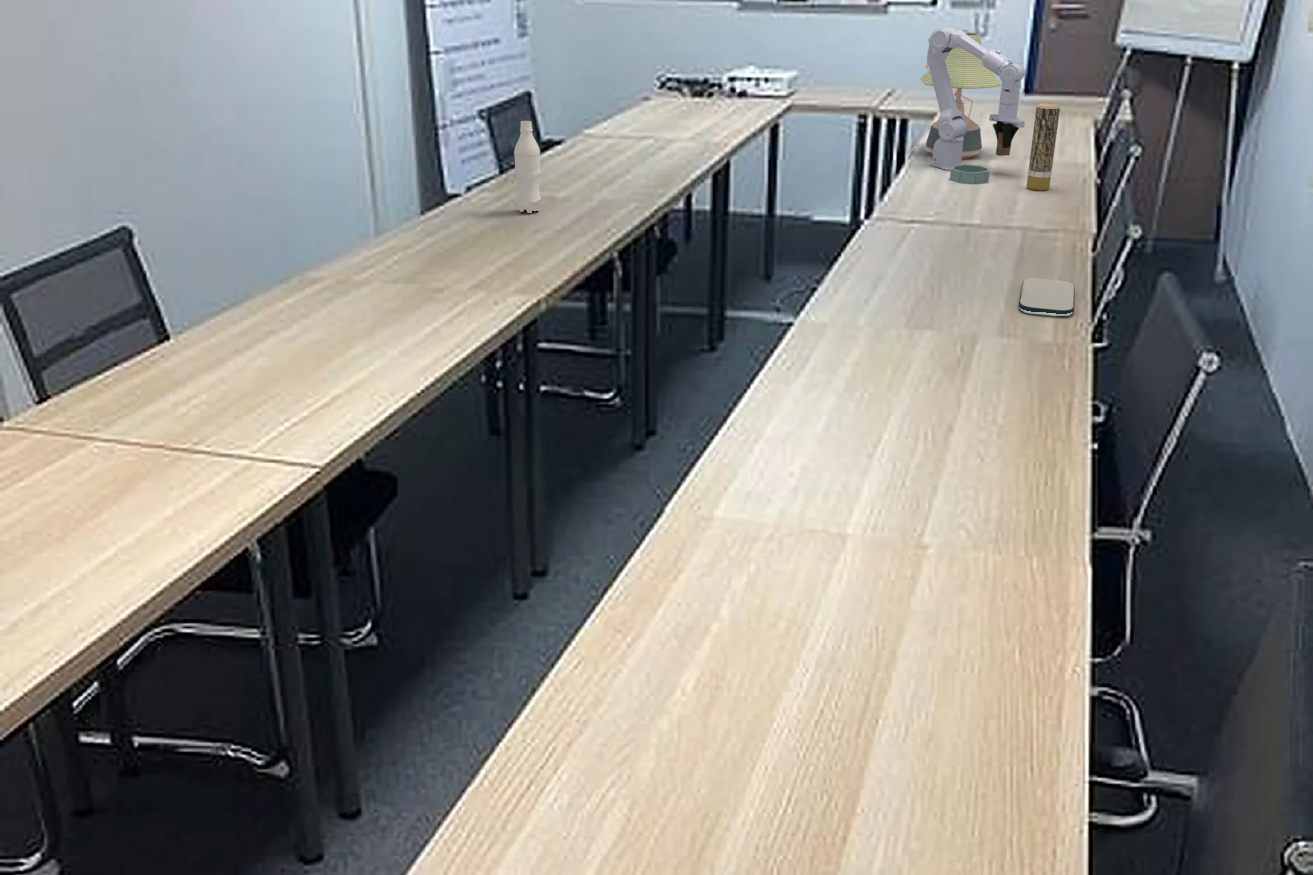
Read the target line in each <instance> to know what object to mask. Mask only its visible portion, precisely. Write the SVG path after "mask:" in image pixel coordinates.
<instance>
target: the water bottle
mask: <svg viewBox="0 0 1313 875" xmlns="http://www.w3.org/2000/svg"><path fill="white" fill-rule="evenodd" d="M519 131H520V136H519V138H518V140H517V142H516V144H515V146H514V152H513V154H514V172H515V175H516V181H517V195H516V200H517V201H518V202H536V201H538V200H540V199H542V197H541V191H540V190H541V189H540V176H541V156H540V154H541V149H540V147H539V144H538V143H537V140H536V139H535V137H534V134H533V125H532V121H531V120H521V121H520V129H519ZM516 200H515V201H516Z"/></svg>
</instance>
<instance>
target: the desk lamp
mask: <svg viewBox="0 0 1313 875" xmlns="http://www.w3.org/2000/svg"><path fill="white" fill-rule="evenodd" d="M962 31H963V32H965V33H966V34H967V35H968V36H969V37H971V38H972V39H973V40H975V41H976V42H977V43H979V44H980V45H981V46H983V43H982V40H981V34H979V33H978V32H969V29H968V28H962ZM945 63H946V67H947V70H948V74H949V78H950V82H951V86H952V89H956V90H957V94H956V97H955V102H956V106H957V108H958V109H959V110H960V111H961V112H962V115H963V118H964V119H965V120H966V122H967V124H968V130H967V132H966V134H965V135H964V136H963V148H962V158H961V160H965V159H969V158H972V157H974V156H976V155H978V154H980V153H982V148H983V146H982V134H981V128H980V126H979V124H978V123H976V122H975V121H974V120H972V119H971V118H970V117H969V118H968V116H967V115H965V103H964V102H963V100H962V96H961V92H962V90H964V89H965V90H966V89H967V90H968V89H970V90H972V89H988V88H996V87H998V88H999V87H1002V84H1001V83H1000V82H999V81H1000V80H998V78H997V77H996V74H995V73H993V72H992V71H990V70H989V69H987V68H986V67H984V66H983V64H982V60H981V59H979V58H978V57H976V56H974V55H973V54H971V53H969V52H968V51H966V50H964V49H962V48H953V49H952V50H951V51H950V52H949V54H948V56H947V57H946V59H945ZM920 81H921V83H923V85H925V86H932V87H934V85H933V82H932V78H931V74H930V70H929V69H928V71H926V72H925V74H923V75H922V76H921V77H920ZM962 93H963V92H962ZM938 129H939V122H938V121H937V120H936V121H935V122H933V123H932V125H931V126H930V129H929V132H928V135H927V139H926V143H925V146H926V147H925V150H926V151H927V152H929V153H930V154H932V155H933V149H934V144H935V142H936V141H937V140H938V139H939V138H941V137H940V136H939V133H938Z"/></svg>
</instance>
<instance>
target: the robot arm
mask: <svg viewBox="0 0 1313 875" xmlns="http://www.w3.org/2000/svg"><path fill="white" fill-rule="evenodd" d="M953 48H962V49H964V50H966V51H968V52H969V53H971V54H973V55H974V56H976V57H978V58H979V59H981V60H982V64H983V66H984V67H986V68H987V69H989V70H990V71H992V72H993V74H994V75H995V76H998V77H999V79H1000V80H999V81H1001V86H1000V95H999V105H998V113H997V114H996V113H992V114H989V116H988V117H989V118H988V120H989V122H995V123H993V124H992V127H993V129H994V132H995V136H996V142H997V141H998V134H999V132H1003V148H1009V147H1010V145H1011V146H1012V142H1013V140H1014V137H1015V135H1016V133H1017V132H1018V130H1019V129H1020V128H1025V120H1022V119H1021V118H1019V117H1018V107H1019V100H1020V92H1021V83H1022V80H1023V79H1024V77H1025V75H1026V73H1025V72H1026V70H1025V68H1024V66H1023V64H1021V62H1017V61H1016V62H1013V61H1014V60H1013V59H1011V58H1007V57H1006V55H1003V54H1002V51H1001V50H999V49H996V50H995V49H989V50H988V49H987V48H985V47H984V46H983V45H982V46H981V45H980V44H979V43H977V42H976V41H975V40H973V39H972V38H971V37H969V36H968V35H967V34H966V33H965V32H963V30H961V29H959V28H958V27H956V26H954V25H953V26H948V27H944V28H943V27H942V28H936V29H935V30H933V32H931V35H930V37H929V38H928V49H927V55H926V63H927V62H928V66H929V67H928V71H929V70H930V74H931V78H932V82H933V85H934V86H933V89H934V93H935V97H936V101H937V104H938V109H939V112H940V113H939V117H938V119H937V120H938V122H939V129H938V133H939V136H940V137H941V138H939V139H938V140H937V141H936V142H935V144H934V149H933V154H932V159H931V160H932V162H930V163H929V165H930V166H933V167H936V168H939V169H942V170H946V171H951V168H952V166H956V165H962V159H961V158H962V148H963V136H964V135H965V134H966V132H967V130H968V124H967V122H966V120H965V119H964V118H963V115H962V112H961V111H960V110H959V109H958V108H957V106H956V102H955V100H956V97H955V95H954V91H953V88H952V86H951V82H950V78H949V74H948V70H947V67H946V63H945V59H946V57H947V56H948V54H949V52H950V51H951V50H952V49H953Z"/></svg>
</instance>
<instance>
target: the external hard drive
mask: <svg viewBox="0 0 1313 875" xmlns="http://www.w3.org/2000/svg"><path fill="white" fill-rule="evenodd" d="M1019 307H1020V308H1021V309H1023V310H1026V311H1031V312H1046V313H1056V314H1067V313H1071V312H1073V313H1074V311H1075V284H1074V283H1072V282H1070V281H1067V280H1060V279H1049V278H1041V277H1040V278H1039V277H1034V278H1033V277H1029V278H1024V280H1023V281H1022V283H1021V289H1020V294H1019V300H1018V308H1019Z"/></svg>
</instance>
